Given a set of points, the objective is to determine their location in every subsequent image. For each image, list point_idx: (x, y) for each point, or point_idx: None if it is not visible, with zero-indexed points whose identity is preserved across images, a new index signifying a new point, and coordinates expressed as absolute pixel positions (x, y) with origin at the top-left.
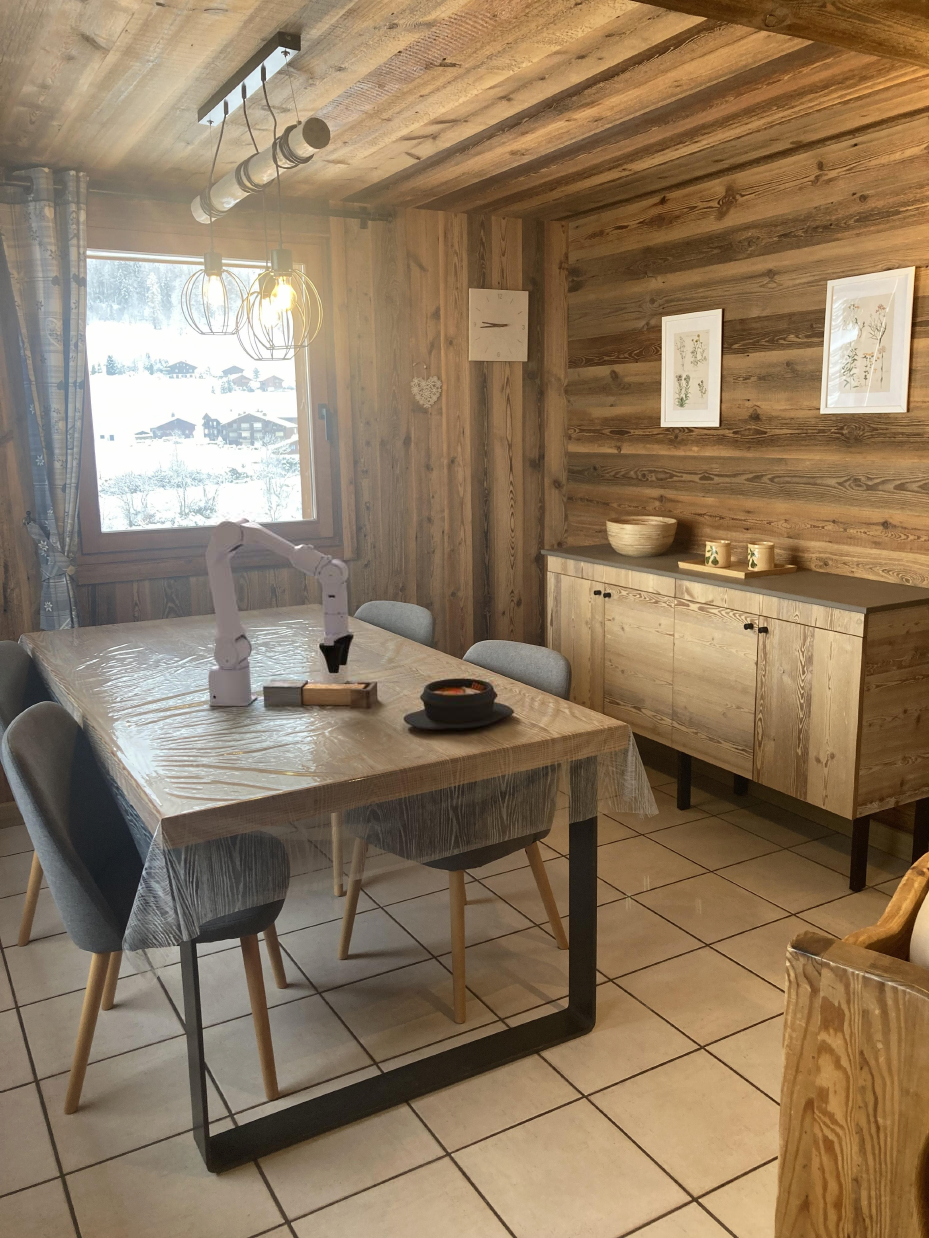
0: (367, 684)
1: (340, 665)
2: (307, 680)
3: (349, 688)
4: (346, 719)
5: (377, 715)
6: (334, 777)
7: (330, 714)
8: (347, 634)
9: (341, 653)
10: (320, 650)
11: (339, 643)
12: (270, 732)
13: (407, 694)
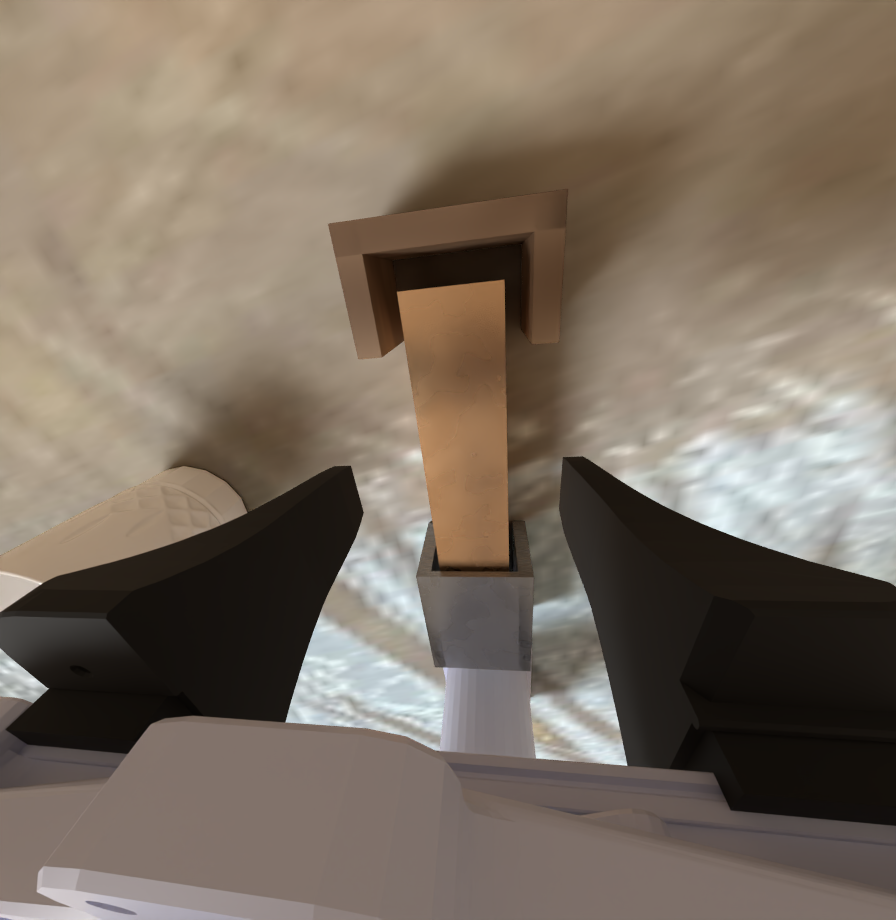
0: (371, 288)
1: (161, 520)
2: (422, 576)
3: (501, 364)
4: (742, 283)
5: (694, 99)
6: None
7: (636, 390)
8: (476, 811)
9: (316, 545)
10: None
11: (270, 637)
12: (856, 528)
13: (215, 59)
